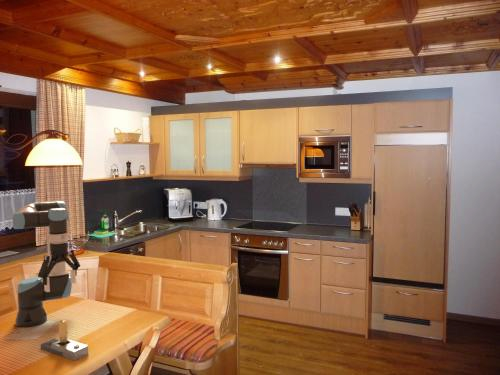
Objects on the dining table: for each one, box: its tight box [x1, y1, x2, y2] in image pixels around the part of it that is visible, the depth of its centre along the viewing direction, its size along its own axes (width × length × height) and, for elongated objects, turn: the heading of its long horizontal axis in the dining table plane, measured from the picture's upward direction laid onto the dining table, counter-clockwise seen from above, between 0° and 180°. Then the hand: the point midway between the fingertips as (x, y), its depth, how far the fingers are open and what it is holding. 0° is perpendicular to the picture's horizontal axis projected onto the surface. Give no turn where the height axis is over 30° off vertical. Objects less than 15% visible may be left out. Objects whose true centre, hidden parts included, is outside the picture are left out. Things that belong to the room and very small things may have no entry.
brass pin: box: [58, 319, 69, 346], centre depth 188 cm, size 3×3×14 cm
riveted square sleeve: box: [40, 338, 89, 362], centre depth 189 cm, size 24×7×5 cm, turn 60°
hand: (60, 287), depth 193 cm, fingers open, 13 cm apart
